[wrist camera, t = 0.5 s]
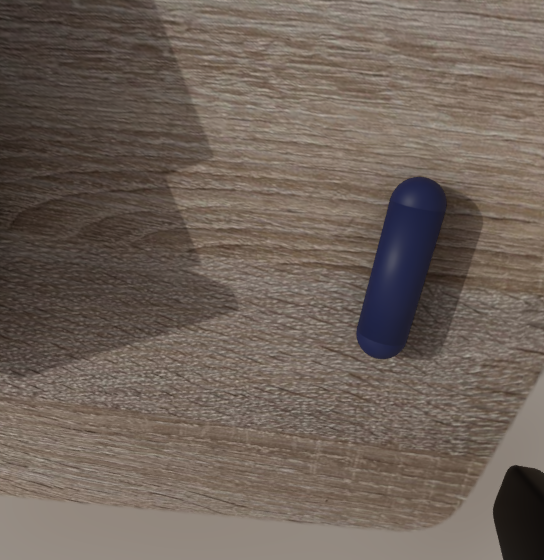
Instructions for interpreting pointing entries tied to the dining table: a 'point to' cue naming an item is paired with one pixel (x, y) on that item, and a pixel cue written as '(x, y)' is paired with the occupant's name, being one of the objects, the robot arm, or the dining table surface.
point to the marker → (400, 266)
